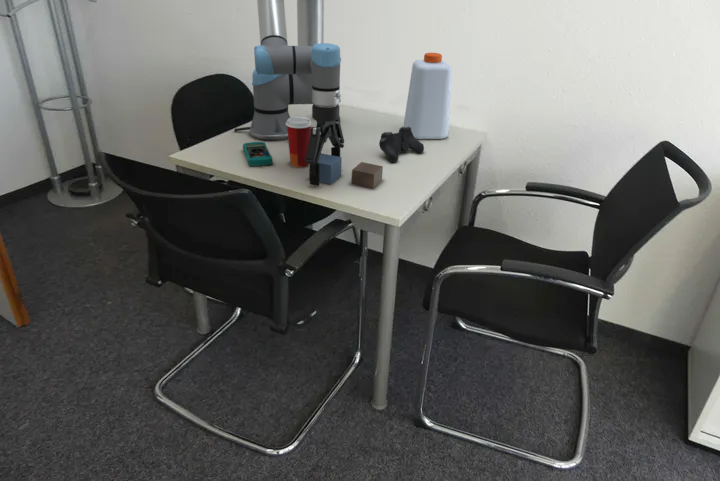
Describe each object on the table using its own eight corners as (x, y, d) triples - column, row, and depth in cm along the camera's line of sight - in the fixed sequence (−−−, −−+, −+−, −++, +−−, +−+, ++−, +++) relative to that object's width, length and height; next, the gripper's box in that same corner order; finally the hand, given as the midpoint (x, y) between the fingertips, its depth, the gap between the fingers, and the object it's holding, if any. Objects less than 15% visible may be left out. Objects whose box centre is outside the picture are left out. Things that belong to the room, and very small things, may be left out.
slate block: (309, 180, 153) (309, 160, 150) (320, 171, 159) (320, 152, 156) (330, 184, 151) (331, 165, 148) (341, 176, 156) (341, 157, 153)
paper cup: (314, 160, 166) (313, 116, 159) (309, 169, 160) (309, 124, 153) (289, 158, 167) (288, 115, 160) (284, 167, 160) (282, 122, 153)
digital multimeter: (249, 167, 159) (248, 158, 158) (242, 150, 171) (242, 142, 170) (273, 165, 161) (273, 156, 160) (265, 149, 173) (264, 140, 172)
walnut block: (351, 184, 152) (351, 169, 149) (360, 175, 157) (361, 161, 155) (373, 188, 149) (374, 174, 147) (381, 180, 155) (382, 166, 153)
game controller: (412, 155, 181) (404, 126, 179) (426, 151, 176) (418, 121, 174) (379, 166, 171) (370, 136, 169) (393, 162, 166) (384, 131, 164)
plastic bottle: (440, 126, 201) (449, 50, 187) (450, 140, 188) (461, 59, 174) (401, 126, 199) (407, 49, 185) (409, 140, 186) (416, 58, 172)
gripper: (317, 118, 132) (317, 194, 143) (356, 96, 153) (354, 164, 163) (291, 113, 135) (293, 189, 145) (333, 92, 155) (332, 160, 166)
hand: (325, 176), depth 154 cm, fingers open, 13 cm apart
